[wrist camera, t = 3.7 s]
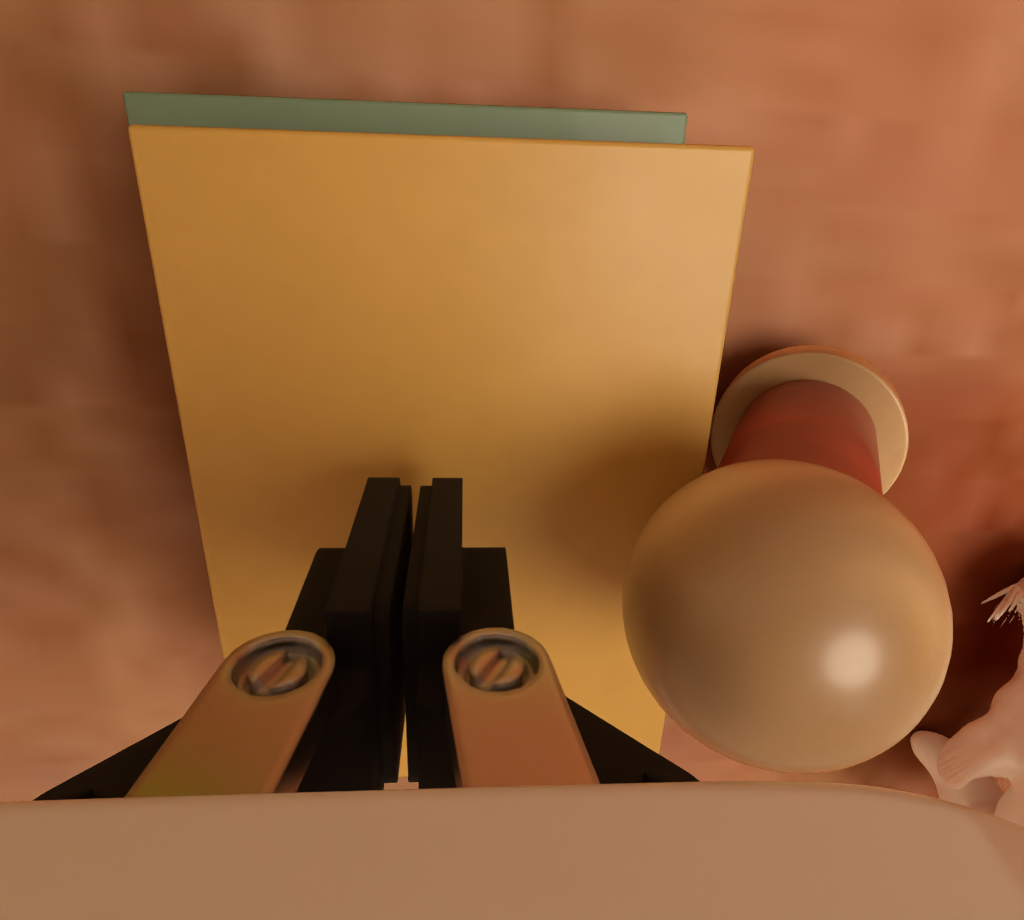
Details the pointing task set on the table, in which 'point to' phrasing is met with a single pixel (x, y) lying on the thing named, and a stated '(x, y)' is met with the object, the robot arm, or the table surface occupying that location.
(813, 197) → the table surface
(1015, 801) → the white figurine
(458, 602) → the robot arm
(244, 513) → the books
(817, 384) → the doll
